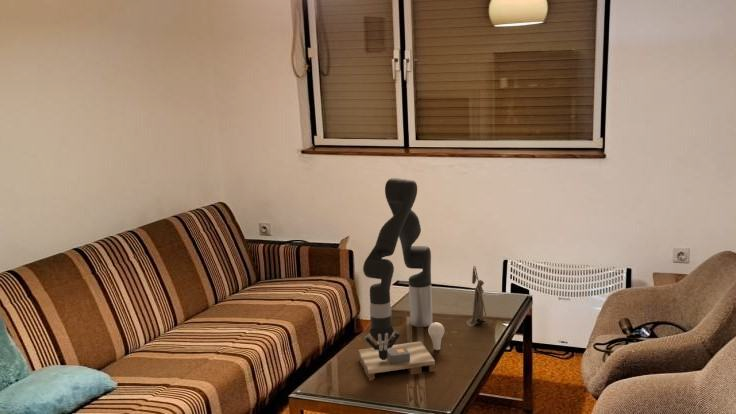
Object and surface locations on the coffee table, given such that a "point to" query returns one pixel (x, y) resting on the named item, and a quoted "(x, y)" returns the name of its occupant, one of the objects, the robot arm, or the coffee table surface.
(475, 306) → the wizard figurine
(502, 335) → the coffee table surface
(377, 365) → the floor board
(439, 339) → the lightbulb
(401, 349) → the grey box
